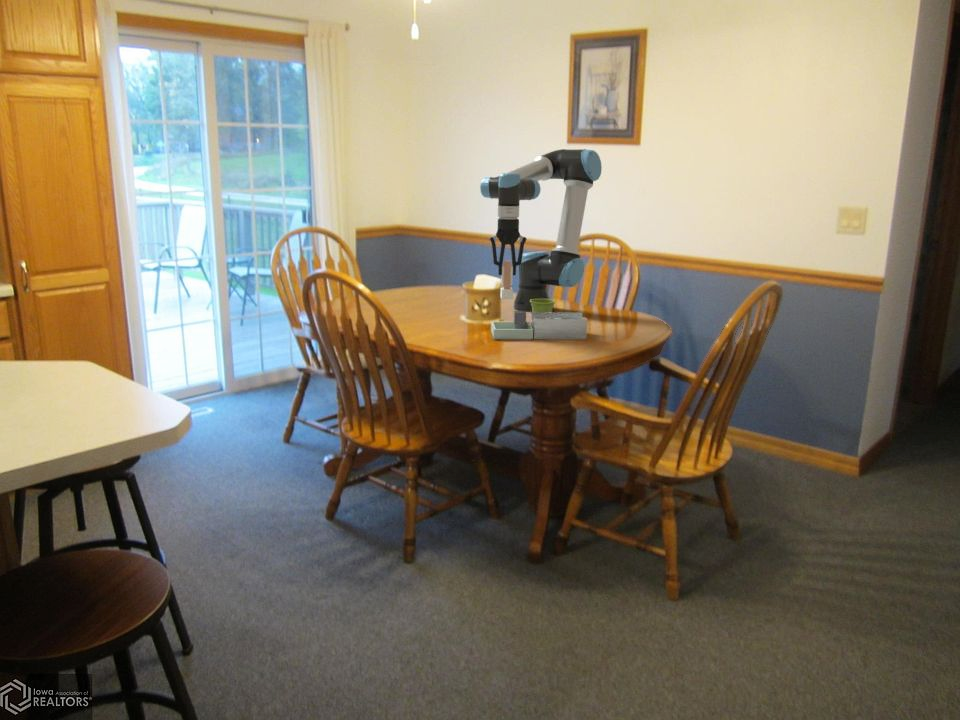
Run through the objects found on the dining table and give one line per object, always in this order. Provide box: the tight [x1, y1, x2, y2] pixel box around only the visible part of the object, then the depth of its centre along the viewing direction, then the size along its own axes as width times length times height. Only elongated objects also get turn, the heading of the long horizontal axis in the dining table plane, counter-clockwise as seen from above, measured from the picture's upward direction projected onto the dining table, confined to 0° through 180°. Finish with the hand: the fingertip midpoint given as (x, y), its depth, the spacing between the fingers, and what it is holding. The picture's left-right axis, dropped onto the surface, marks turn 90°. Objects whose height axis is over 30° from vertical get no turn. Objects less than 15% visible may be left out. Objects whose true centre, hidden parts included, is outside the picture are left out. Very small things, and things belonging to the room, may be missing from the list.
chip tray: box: [490, 321, 534, 341], centre depth 279 cm, size 13×14×4 cm
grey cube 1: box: [512, 310, 527, 324], centre depth 278 cm, size 4×4×4 cm
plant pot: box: [530, 298, 556, 312], centre depth 298 cm, size 9×9×9 cm
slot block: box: [529, 311, 588, 340], centre depth 279 cm, size 12×18×7 cm, turn 93°
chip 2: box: [515, 321, 528, 329], centre depth 279 cm, size 4×4×4 cm
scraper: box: [500, 259, 514, 300], centre depth 287 cm, size 5×4×14 cm
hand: (506, 284), depth 288 cm, fingers closed on scraper, 2 cm apart
